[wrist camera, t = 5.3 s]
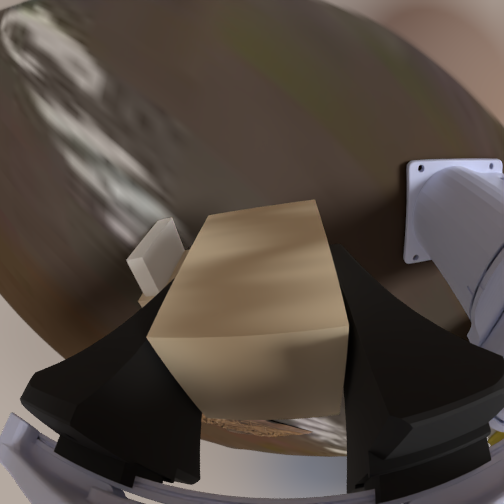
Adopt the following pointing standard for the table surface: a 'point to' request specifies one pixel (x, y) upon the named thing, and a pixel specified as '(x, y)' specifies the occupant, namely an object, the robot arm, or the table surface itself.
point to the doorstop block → (257, 317)
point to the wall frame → (157, 259)
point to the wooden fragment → (255, 427)
